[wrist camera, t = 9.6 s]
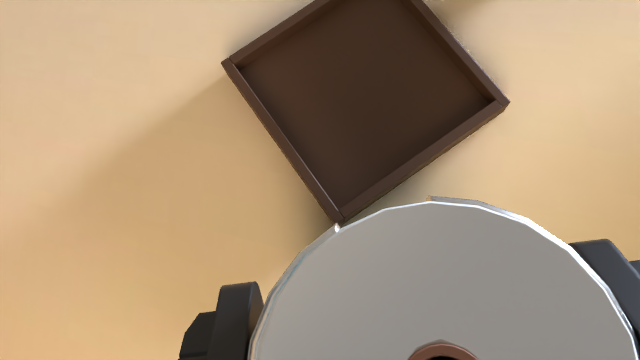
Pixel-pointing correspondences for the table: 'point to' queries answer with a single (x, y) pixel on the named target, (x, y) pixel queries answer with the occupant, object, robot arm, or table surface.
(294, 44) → the tray
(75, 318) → the table surface
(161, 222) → the table surface
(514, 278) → the silver metal cylinder
